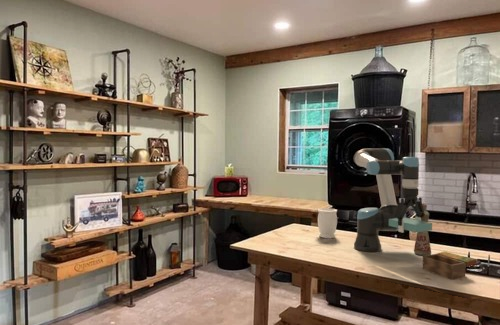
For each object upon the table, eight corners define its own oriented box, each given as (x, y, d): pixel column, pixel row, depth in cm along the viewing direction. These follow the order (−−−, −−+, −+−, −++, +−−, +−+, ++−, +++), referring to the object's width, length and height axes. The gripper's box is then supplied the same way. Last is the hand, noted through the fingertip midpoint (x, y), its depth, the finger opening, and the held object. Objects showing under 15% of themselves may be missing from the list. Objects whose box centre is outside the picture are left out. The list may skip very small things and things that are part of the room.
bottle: (434, 254, 198) (435, 203, 197) (427, 257, 193) (428, 205, 191) (418, 250, 205) (419, 201, 204) (411, 253, 199) (411, 203, 198)
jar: (313, 235, 241) (313, 208, 240) (328, 233, 246) (328, 207, 246) (326, 239, 229) (326, 211, 229) (341, 237, 235) (341, 210, 234)
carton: (444, 258, 191) (445, 250, 191) (476, 267, 177) (477, 259, 177) (435, 261, 187) (435, 253, 187) (467, 270, 173) (467, 261, 173)
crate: (422, 270, 171) (422, 256, 171) (435, 268, 175) (435, 253, 175) (451, 281, 158) (452, 265, 157) (465, 278, 161) (465, 262, 161)
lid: (388, 225, 187) (388, 219, 187) (404, 223, 192) (404, 217, 192) (416, 232, 172) (416, 225, 172) (432, 230, 176) (432, 223, 176)
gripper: (399, 189, 173) (398, 234, 174) (433, 187, 183) (432, 230, 183) (387, 187, 180) (386, 231, 180) (420, 186, 189) (420, 227, 190)
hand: (409, 230), depth 182 cm, fingers closed on lid, 11 cm apart
